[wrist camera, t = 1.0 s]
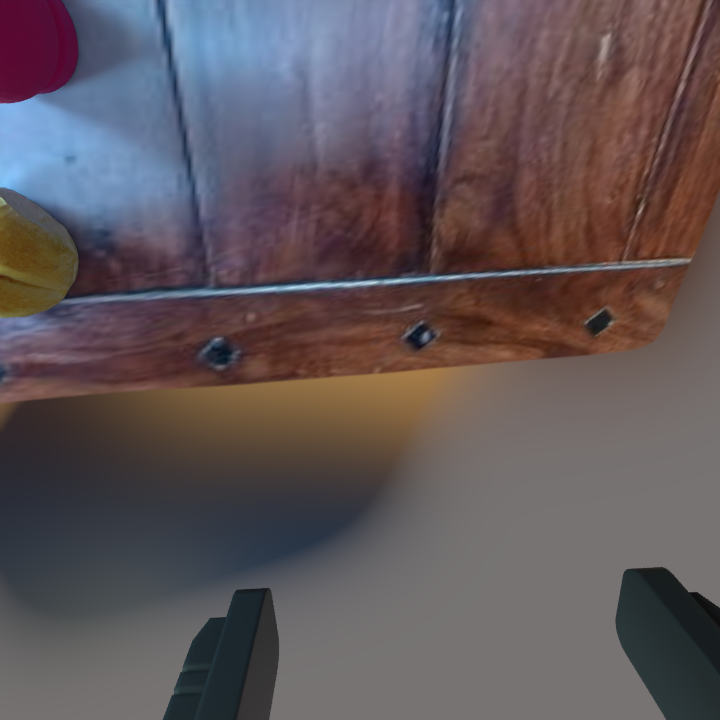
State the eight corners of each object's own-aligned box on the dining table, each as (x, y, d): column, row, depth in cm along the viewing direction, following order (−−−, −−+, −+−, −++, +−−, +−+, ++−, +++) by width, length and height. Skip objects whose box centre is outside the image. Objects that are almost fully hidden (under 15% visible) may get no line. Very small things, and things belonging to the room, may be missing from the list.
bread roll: (-78, 258, 31) (-125, 278, 27) (-17, 162, 28) (-59, 170, 25) (40, 330, 34) (12, 355, 31) (104, 249, 32) (81, 267, 28)
